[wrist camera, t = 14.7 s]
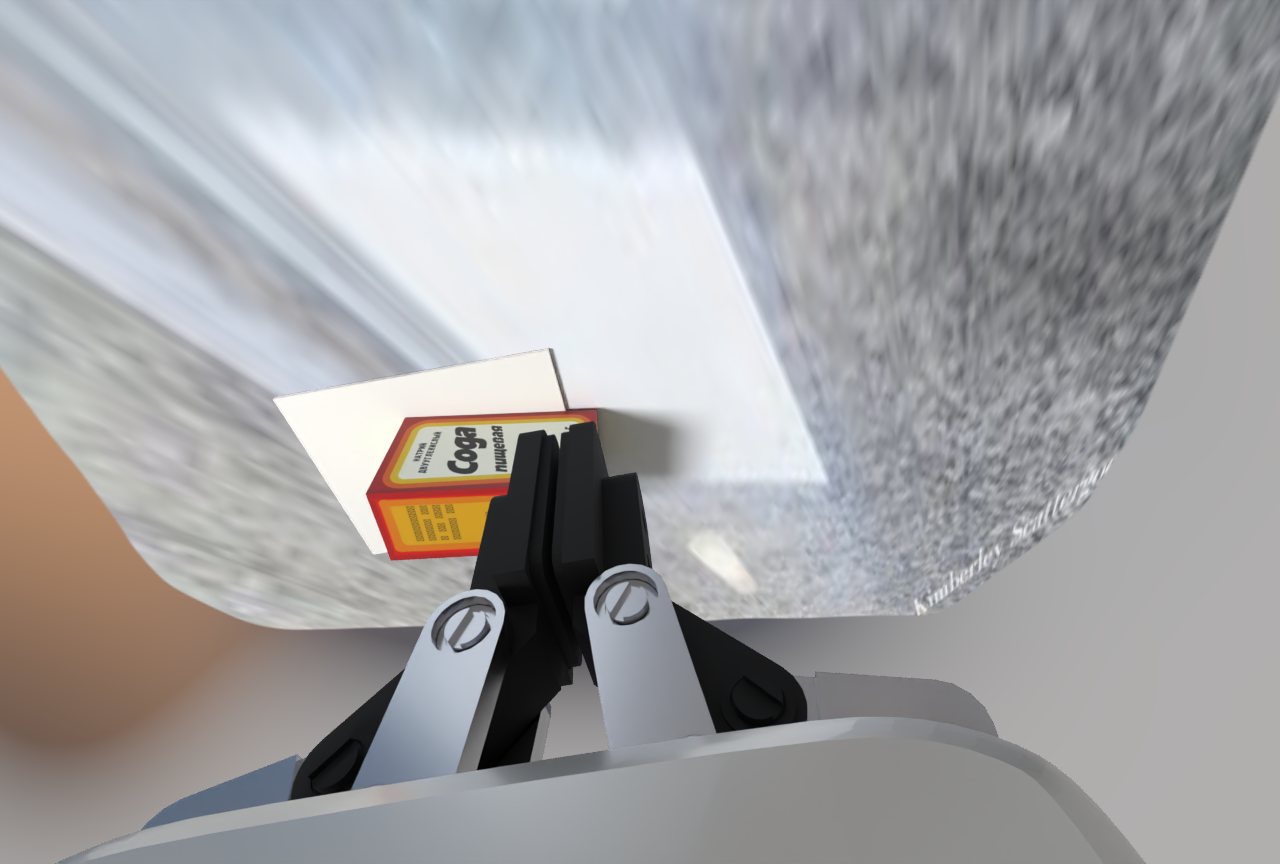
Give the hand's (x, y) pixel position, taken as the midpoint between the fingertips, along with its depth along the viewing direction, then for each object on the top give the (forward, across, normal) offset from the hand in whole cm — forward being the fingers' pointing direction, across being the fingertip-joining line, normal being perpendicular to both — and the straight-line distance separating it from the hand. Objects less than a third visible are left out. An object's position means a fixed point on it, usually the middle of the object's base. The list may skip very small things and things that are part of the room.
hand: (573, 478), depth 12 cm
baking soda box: (+24, +3, +19) cm, 31 cm away
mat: (+29, +16, +19) cm, 38 cm away
